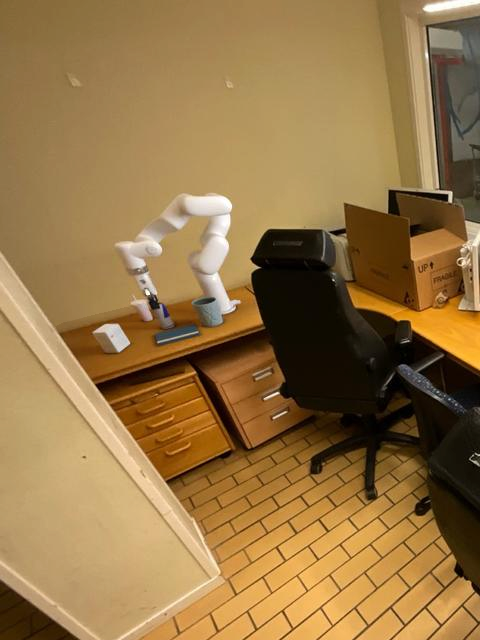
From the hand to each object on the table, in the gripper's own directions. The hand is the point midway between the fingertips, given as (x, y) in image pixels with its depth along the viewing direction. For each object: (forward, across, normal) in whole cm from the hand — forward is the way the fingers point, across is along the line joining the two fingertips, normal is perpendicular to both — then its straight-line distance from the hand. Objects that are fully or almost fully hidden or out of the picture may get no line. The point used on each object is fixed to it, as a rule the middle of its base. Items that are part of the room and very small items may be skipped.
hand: (155, 305), depth 185 cm
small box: (+12, -11, +19) cm, 25 cm away
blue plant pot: (+11, -9, -19) cm, 24 cm away
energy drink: (+12, 0, -1) cm, 12 cm away
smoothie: (+12, +15, +6) cm, 20 cm away
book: (+12, -13, -3) cm, 18 cm away
